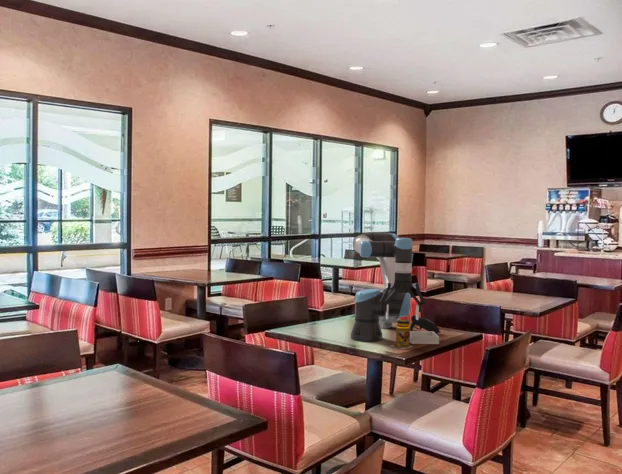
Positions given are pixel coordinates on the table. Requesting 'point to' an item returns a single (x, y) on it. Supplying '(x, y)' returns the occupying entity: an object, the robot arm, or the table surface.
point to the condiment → (402, 334)
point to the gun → (424, 325)
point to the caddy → (424, 337)
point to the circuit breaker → (387, 322)
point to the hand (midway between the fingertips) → (402, 319)
